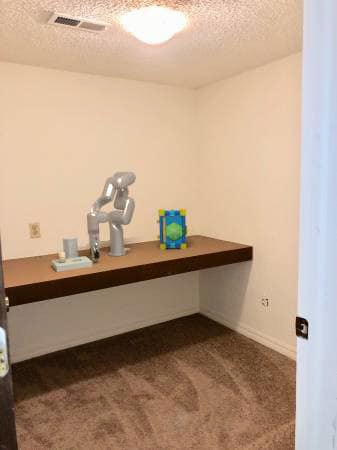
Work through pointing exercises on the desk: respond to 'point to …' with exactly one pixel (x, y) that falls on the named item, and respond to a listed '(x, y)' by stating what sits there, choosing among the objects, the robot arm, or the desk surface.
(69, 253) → the skincare box
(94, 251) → the peg
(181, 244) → the decorative book
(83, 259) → the board
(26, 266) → the desk surface
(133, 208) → the robot arm
